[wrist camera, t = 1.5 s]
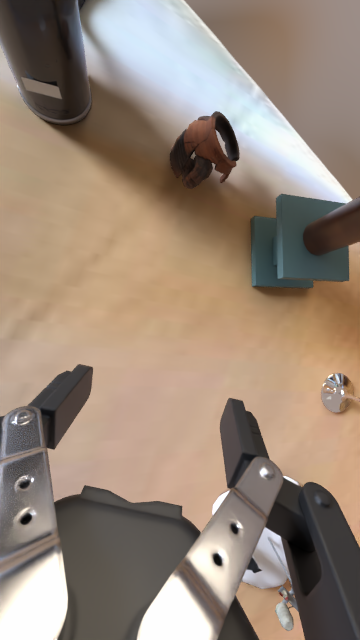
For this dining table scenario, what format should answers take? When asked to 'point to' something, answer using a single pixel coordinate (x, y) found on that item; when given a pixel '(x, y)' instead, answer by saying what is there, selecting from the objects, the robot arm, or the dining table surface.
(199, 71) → the dining table surface
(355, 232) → the pepper mill
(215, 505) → the figurine
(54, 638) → the robot arm
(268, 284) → the stand
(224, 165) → the brown clay hollow piece
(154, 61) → the dining table surface
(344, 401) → the wineglass
